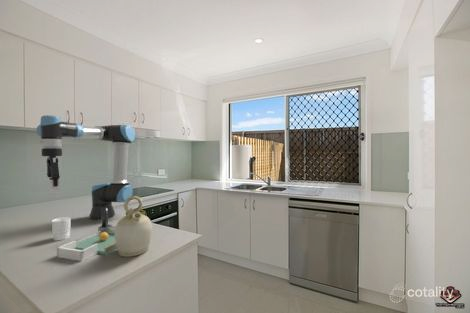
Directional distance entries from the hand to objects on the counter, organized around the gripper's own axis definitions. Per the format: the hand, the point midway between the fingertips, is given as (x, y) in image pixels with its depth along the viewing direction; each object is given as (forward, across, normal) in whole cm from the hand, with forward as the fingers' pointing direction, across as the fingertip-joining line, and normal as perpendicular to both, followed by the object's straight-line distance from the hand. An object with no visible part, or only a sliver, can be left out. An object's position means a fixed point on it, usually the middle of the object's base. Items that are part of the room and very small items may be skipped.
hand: (53, 191), depth 104 cm
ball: (+23, +16, +17) cm, 33 cm away
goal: (+26, +22, +5) cm, 34 cm away
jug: (+26, +36, +24) cm, 51 cm away
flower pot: (+26, +3, +37) cm, 46 cm away
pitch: (+26, +15, +18) cm, 35 cm away
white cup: (+26, -7, +3) cm, 27 cm away
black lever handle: (+24, +8, +23) cm, 34 cm away
